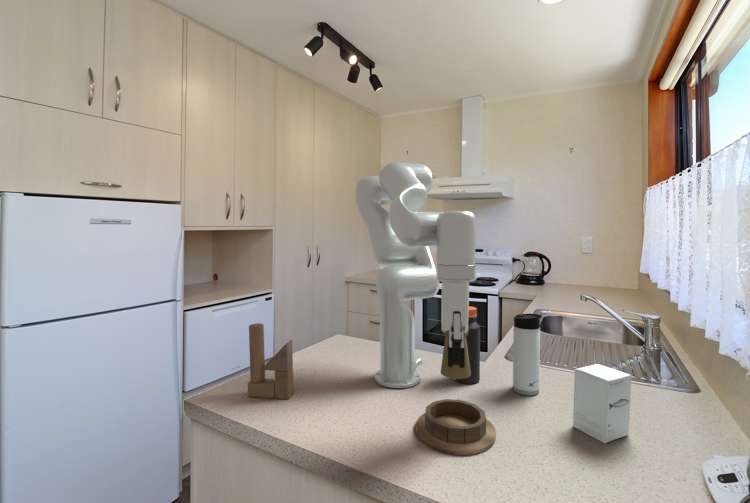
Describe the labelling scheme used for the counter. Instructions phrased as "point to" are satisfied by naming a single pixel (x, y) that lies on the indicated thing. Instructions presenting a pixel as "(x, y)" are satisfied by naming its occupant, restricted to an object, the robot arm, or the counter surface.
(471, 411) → the collar stand
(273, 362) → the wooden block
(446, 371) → the olive knobbed pestle
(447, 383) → the counter surface
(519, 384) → the travel mug
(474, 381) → the bottle
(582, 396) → the supplement box
